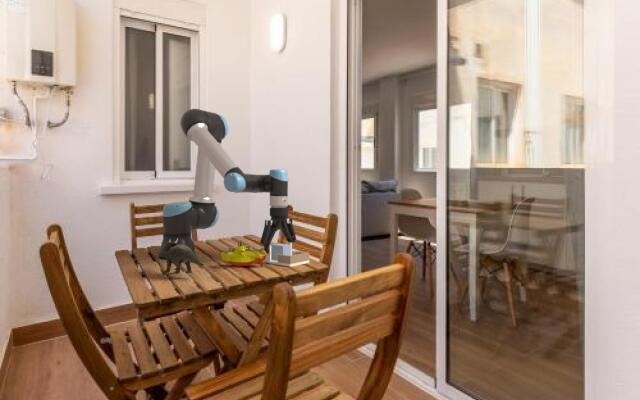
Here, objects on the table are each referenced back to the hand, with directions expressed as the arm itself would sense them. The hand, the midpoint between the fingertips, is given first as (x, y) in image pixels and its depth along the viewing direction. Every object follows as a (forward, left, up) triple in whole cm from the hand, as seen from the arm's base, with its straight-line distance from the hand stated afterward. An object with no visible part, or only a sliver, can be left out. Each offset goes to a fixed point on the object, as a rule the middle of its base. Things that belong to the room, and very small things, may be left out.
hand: (278, 259), depth 158 cm
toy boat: (-3, -16, -1) cm, 16 cm away
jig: (-7, 0, -1) cm, 7 cm away
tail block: (0, 0, 0) cm, 0 cm away
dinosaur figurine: (-12, -38, -1) cm, 40 cm away
